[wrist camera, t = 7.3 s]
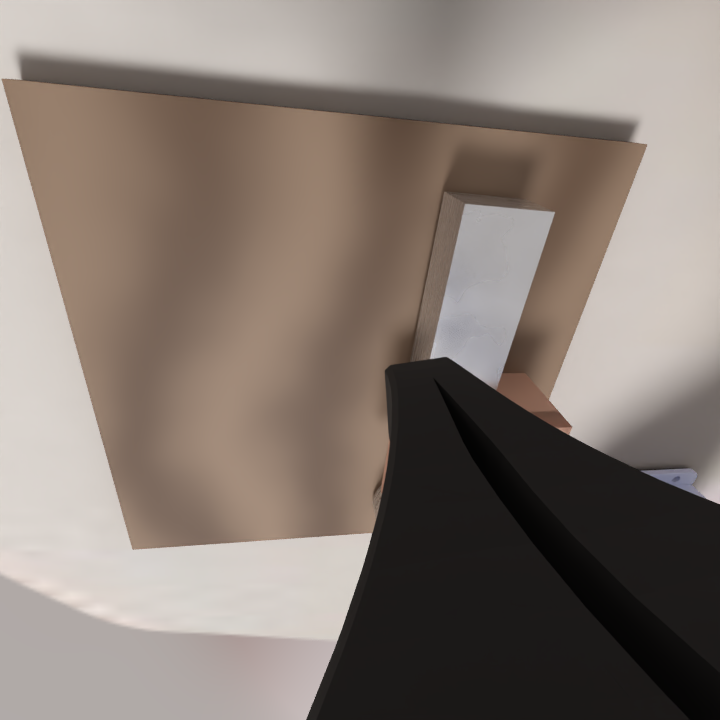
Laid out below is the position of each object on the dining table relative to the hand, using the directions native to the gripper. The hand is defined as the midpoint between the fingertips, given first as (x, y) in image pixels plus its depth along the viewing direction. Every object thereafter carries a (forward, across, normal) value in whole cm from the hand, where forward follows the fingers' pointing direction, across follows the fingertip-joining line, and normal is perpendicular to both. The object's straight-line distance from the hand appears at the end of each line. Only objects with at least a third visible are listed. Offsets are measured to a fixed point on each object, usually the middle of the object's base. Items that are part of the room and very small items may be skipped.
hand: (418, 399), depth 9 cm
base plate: (+9, +1, +5) cm, 10 cm away
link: (+8, -3, +6) cm, 10 cm away
